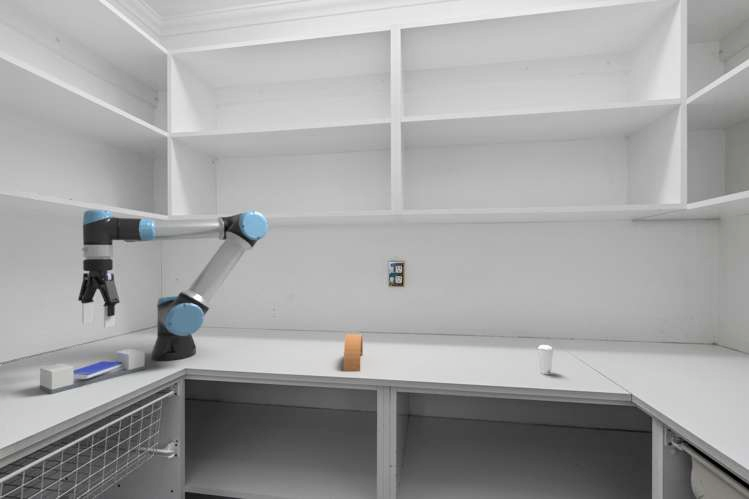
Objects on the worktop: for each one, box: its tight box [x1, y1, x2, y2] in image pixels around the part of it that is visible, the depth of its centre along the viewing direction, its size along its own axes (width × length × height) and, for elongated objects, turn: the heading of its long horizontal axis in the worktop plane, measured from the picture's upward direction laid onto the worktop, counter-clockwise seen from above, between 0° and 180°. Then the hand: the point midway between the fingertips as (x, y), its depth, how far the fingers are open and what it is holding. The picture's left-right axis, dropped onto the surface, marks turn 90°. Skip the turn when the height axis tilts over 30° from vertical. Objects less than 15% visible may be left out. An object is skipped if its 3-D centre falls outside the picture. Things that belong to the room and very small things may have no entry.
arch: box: [343, 334, 364, 372], centre depth 131 cm, size 6×20×10 cm, turn 179°
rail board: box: [39, 348, 146, 395], centre depth 114 cm, size 25×8×6 cm, turn 151°
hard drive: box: [73, 360, 123, 379], centre depth 114 cm, size 2×8×12 cm
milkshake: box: [537, 344, 555, 376], centre depth 118 cm, size 4×5×10 cm
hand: (98, 324), depth 115 cm, fingers open, 13 cm apart
